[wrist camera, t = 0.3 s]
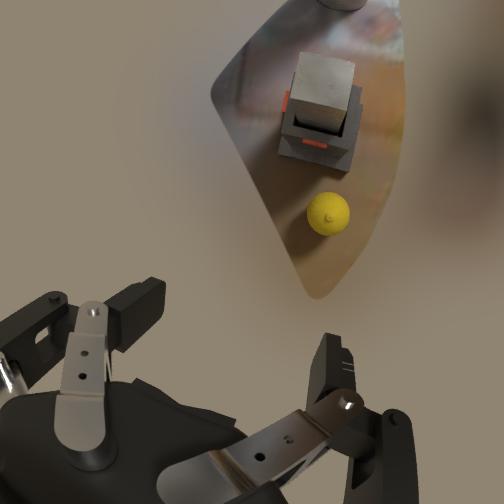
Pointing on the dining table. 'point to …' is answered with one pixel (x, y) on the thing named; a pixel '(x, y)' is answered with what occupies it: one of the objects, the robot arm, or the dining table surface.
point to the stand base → (321, 136)
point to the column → (321, 92)
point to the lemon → (328, 213)
